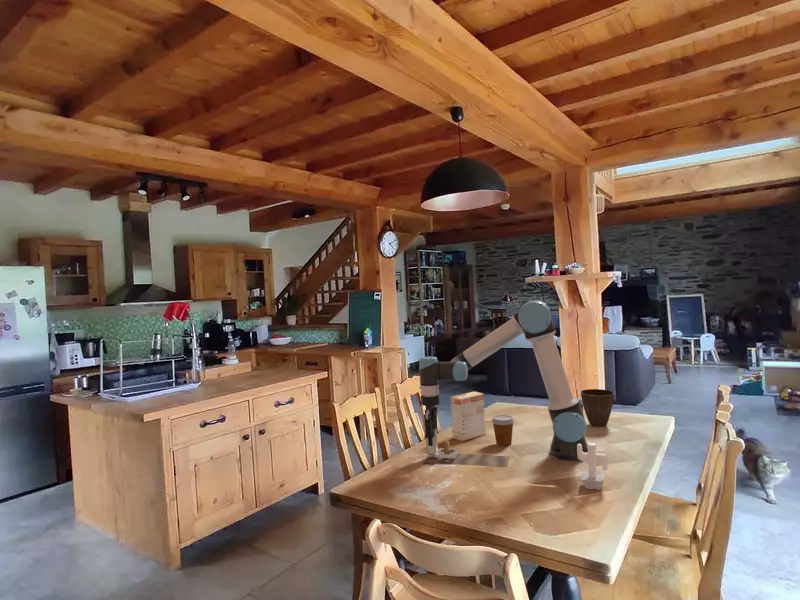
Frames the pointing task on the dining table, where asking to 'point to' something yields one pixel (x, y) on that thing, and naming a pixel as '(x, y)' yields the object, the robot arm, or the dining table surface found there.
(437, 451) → the tie down link
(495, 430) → the disposable coffee cup
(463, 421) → the coffeecake box
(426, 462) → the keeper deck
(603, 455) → the figurine
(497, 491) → the dining table surface
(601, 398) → the plant pot
